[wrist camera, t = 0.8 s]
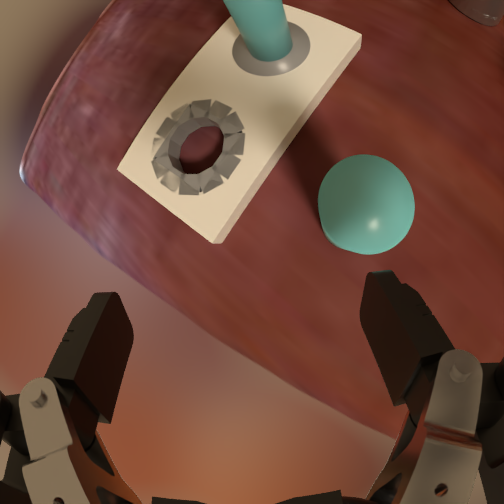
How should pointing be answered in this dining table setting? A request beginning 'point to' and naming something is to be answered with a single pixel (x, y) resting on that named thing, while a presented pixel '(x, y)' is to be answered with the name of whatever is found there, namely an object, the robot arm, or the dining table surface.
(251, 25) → the seated pin
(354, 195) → the pin
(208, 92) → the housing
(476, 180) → the dining table surface
